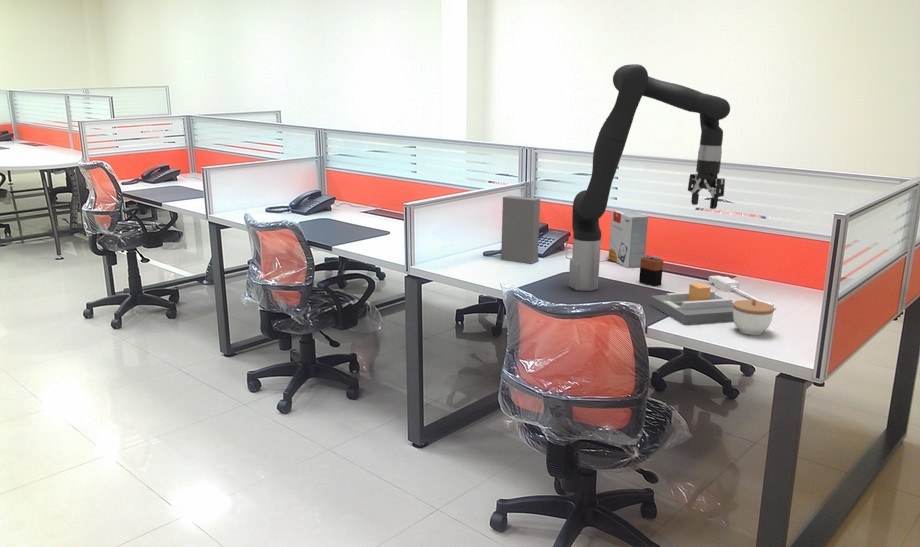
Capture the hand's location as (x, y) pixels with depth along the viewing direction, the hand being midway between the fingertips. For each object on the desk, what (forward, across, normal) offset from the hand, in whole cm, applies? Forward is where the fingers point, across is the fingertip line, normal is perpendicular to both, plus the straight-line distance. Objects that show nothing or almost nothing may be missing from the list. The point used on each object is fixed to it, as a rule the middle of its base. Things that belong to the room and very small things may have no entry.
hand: (703, 206), depth 243 cm
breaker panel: (+28, +25, -23) cm, 44 cm away
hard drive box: (+28, -35, -2) cm, 45 cm away
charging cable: (+28, +16, +5) cm, 33 cm away
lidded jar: (+28, +45, -22) cm, 57 cm away
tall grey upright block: (+29, -55, -39) cm, 73 cm away
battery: (+28, -7, -14) cm, 32 cm away
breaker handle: (+24, +25, -23) cm, 42 cm away
